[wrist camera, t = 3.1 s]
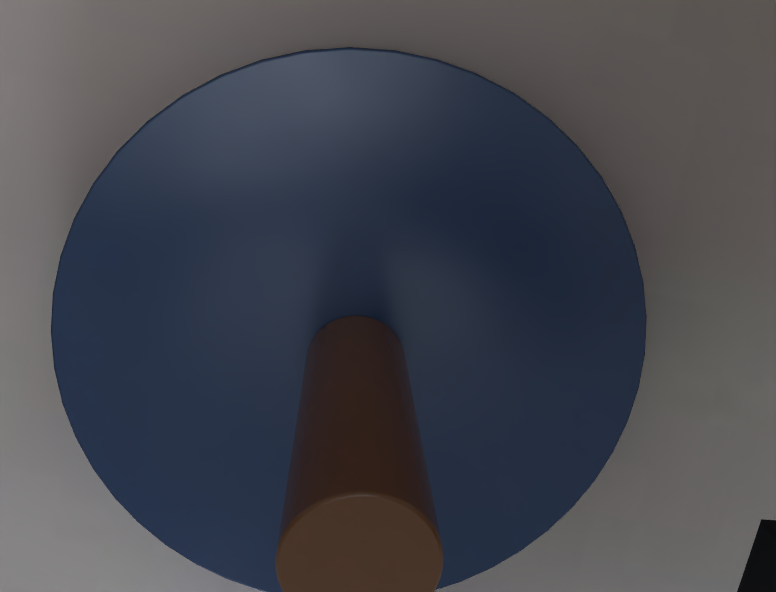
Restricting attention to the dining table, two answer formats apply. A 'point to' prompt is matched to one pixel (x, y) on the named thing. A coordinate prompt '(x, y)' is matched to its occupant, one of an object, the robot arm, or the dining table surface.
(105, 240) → the pot lid
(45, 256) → the dining table surface
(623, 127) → the dining table surface
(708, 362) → the dining table surface
